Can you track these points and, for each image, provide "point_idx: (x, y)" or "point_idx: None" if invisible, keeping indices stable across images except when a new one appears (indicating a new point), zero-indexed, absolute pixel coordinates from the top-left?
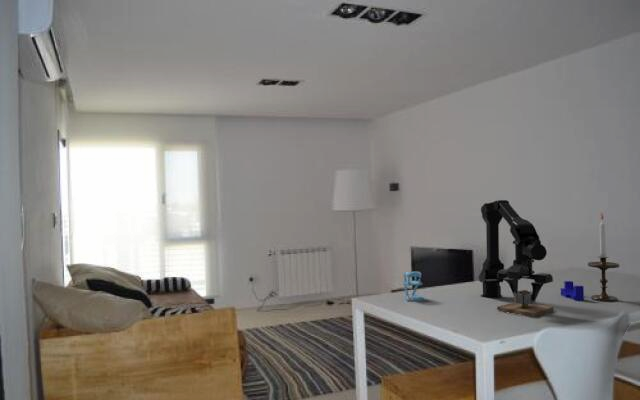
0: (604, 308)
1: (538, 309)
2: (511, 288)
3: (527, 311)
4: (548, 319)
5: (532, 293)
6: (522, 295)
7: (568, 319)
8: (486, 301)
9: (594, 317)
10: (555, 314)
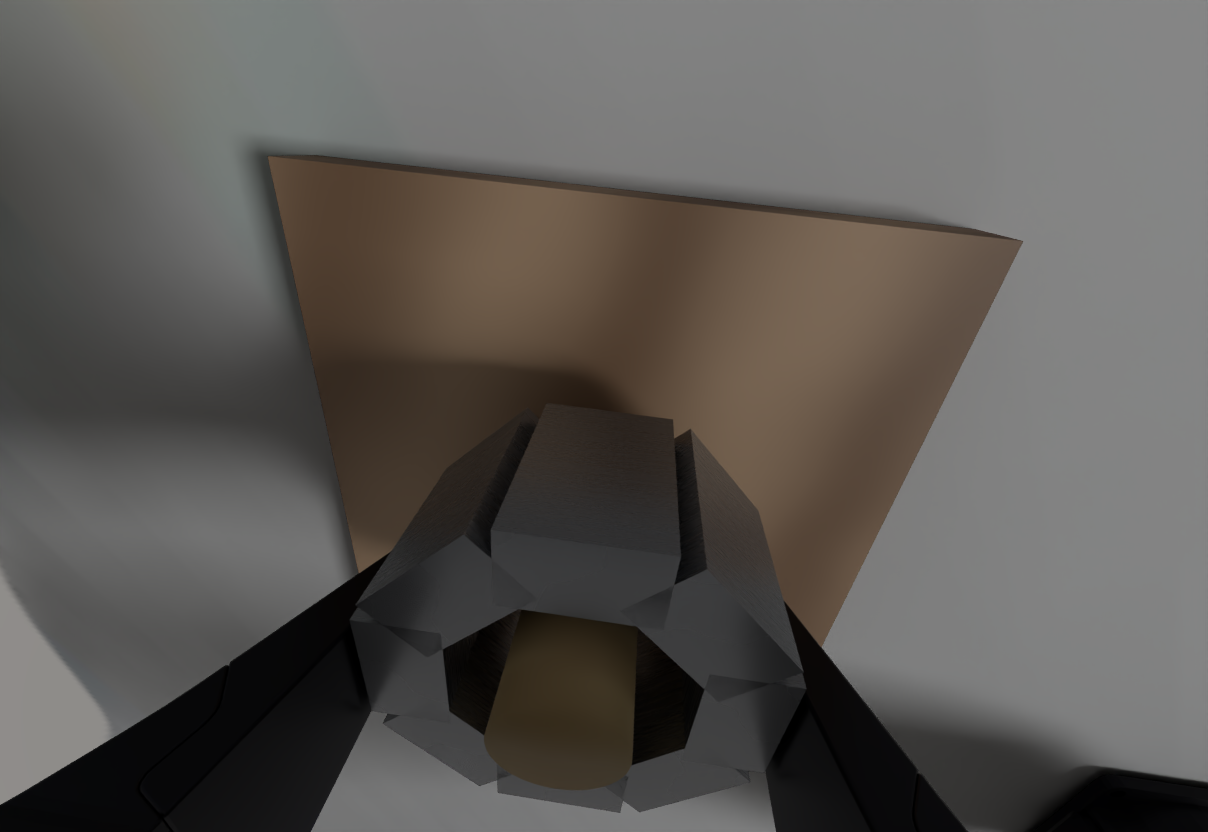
0: None
1: (395, 455)
2: (918, 793)
3: (415, 232)
4: (141, 201)
5: (325, 648)
6: (505, 511)
7: (54, 363)
8: (1196, 655)
9: (46, 562)
10: (293, 493)
